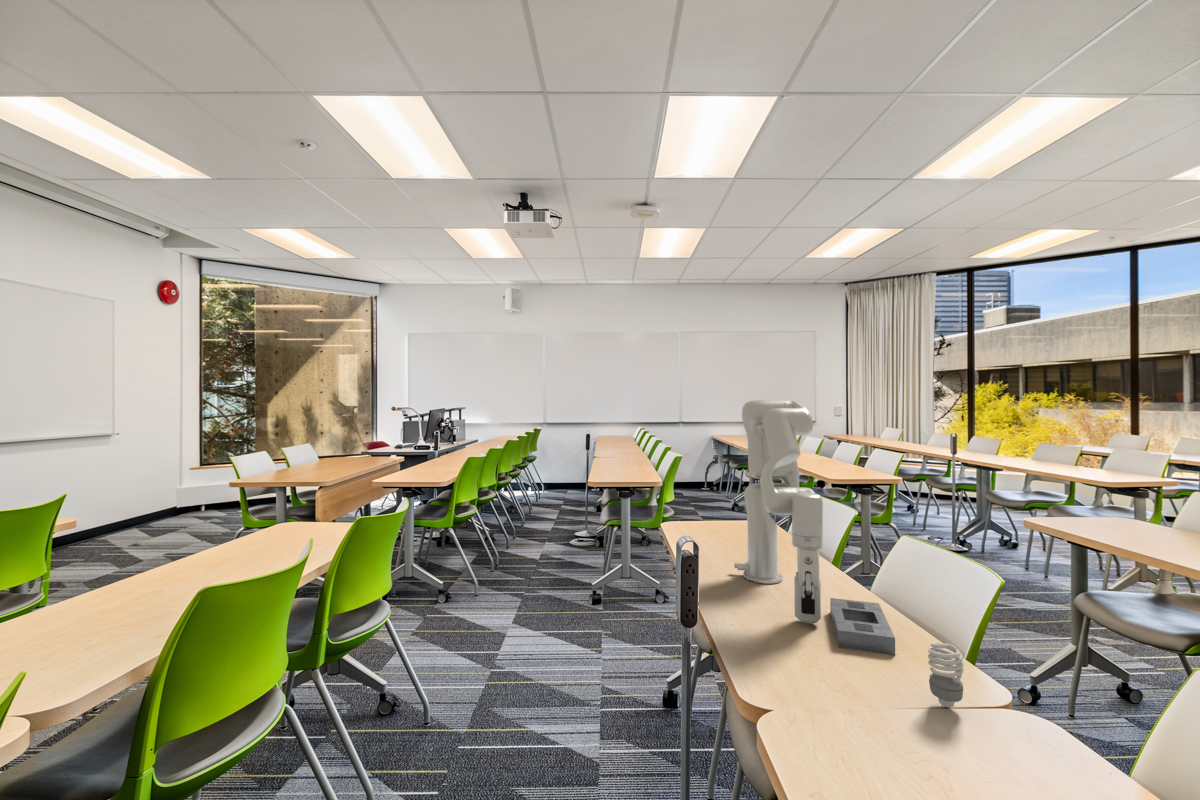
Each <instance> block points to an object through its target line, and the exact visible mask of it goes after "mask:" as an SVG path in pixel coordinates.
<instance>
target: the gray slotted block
mask: <svg viewBox="0 0 1200 800" xmlns="http://www.w3.org/2000/svg"><path fill="white" fill-rule="evenodd" d="M829 601H830V605H829V608H830V617H831V621H832V625H833V632H834V634H835V639H836V640H835V641H836V646H837V648H841V649H842V648H843V649H849V650H855V651H863V652H870V653H875V654H876V653H877V654H884V655H891V656H896V637H895V635H894V633H893V630H892V628H891V627H890V624H889V622H888V619H887V618H886V616H885V613H884V612H883V609H882V608H881V605H880V603H879V602H871V601H863V600H862V601H861V600H852V599H842V598H833V597H830V600H829Z"/></svg>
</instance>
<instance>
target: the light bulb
mask: <svg viewBox="0 0 1200 800" xmlns="http://www.w3.org/2000/svg"><path fill="white" fill-rule="evenodd" d="M927 651H928V655H927V659H928V661H927V662H928V664H929V666H931V667H930V668H929V670H930V671H931V672H932V673H931V674H930V675H929V679H928V683H929V690H930V693H932V695H933V696H935V697H937V698H938V699H937V701H938V703H939V705H941V706H943V708H946V709H950V708H953V707H955V703H957V702H961V701H962V700H963V695H964V684H963V681H961V679H962V677H963V676H962V675H963V673H964V664H965V663H964V657H963V654H962V653H961V651H960V650H959V648H958V647H956V646H954V645H952V644H950V643H941V642H937V641H934V642H931V643H930V647H929V648H928V650H927ZM944 671H945V672H944Z"/></svg>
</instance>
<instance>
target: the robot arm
mask: <svg viewBox="0 0 1200 800" xmlns="http://www.w3.org/2000/svg"><path fill="white" fill-rule="evenodd" d="M741 419H742V424H743V427H744V430H745V433H746V437H747V463H748V464H747V465H748V473H749V475H750V477H751V478H753V479H757V480H760V483H759V482H758V483H752V484H749V485H748V486H747V487H746V488H745V489H744V491H743V492H744V493H743V494H744V495H743V496H744V503H745V509H746V519H747V520H746V521H747V522H746V523H747V527H746V528H747V560H746V561H747V562H743V563H740V562H734V569H736V570H737V571H743V573H742V575H743V578H744V579H745V578H746V579H745V580H747V581H749V580H750V582H752V581H753V583H757V584H765V585H767V584H769V585H771V584H778V583H781V582H782V581H783V580H784V578H783V574H781V572H778V571H779V569H778V568H779V567H778V564H779V563H778V560H779V559H778V526H777V525H778V524H777V523H776V521H775V520H774V519H773V517H771V515H776V516H777V515H778V516H786V515H787V516H790V515H791V537H792V538H791V541H792V542H791V545H792V546H793V547H795V548H796V557H797V558H796V559H797V561H796V562H797V564H796V565H797V572H798V576H799V583H800V586H802V597H801V612H802V613H804V614H812V615H814V614H815V599H814V586H815V587H817V589H818V588H820V581H821V578H820V550H821V549H824V517H823V516H824V513H823V512H824V510H823V509H824V507H823V506H824V505H823V504H824V502H823V498H822V496H821V495H820V494H817V493H816V492H815V491H814V490H813V489H812V488H810V487H800V485H799V480H800V479H799V465H798V459H799V458H800V456H801V450H800V446H799V443H798V439H797V436H807V435H809V434H811V432H812V431H813V427H814V421H813V417H812V414H811V413H810V411H809V410H808V409H807V408H806V407H805V406H804V405H802V404H801V403H799V402H797V401H796V400H791V399H755V400H749V401H746V402H745V403H744V405H743V407H742V409H741ZM773 480H781V482H778V483H777V482H776V483H775V482H773ZM770 514H771V515H770ZM805 572H806V577H805ZM804 583H806V586H804ZM811 584H812V586H811ZM805 588H806V590H805ZM811 589H812V591H811Z"/></svg>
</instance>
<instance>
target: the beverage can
mask: <svg viewBox="0 0 1200 800" xmlns="http://www.w3.org/2000/svg"><path fill="white" fill-rule="evenodd" d="M805 577H806V572H805ZM793 580H794V617H796V619H797V620H798V621H800V622H802V623H805V624H816V623H818V622H819V621H820V620H821V618H822V617H821V614H822V613H821V612H822V611H821V610H822V609H821V607H822V604H821V601H822V599H821V598H822V597H821V594H822V593H821V591H822V590H821V589H822V588H821V586H822V585H821V583H822V582H821V580H820V588H818V589H817V587H815V586H814V599H815V614H814V615H812V614H804V613H802V612H801V597H802V586H800V583H799V576H798V571H796V572H795V576H794V579H793ZM804 586H806V583H804ZM811 586H812V584H811ZM805 590H806V588H805ZM811 591H812V589H811Z"/></svg>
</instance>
